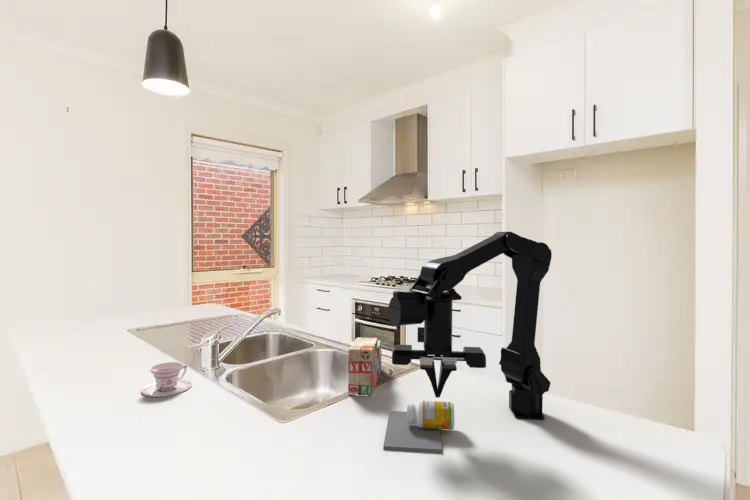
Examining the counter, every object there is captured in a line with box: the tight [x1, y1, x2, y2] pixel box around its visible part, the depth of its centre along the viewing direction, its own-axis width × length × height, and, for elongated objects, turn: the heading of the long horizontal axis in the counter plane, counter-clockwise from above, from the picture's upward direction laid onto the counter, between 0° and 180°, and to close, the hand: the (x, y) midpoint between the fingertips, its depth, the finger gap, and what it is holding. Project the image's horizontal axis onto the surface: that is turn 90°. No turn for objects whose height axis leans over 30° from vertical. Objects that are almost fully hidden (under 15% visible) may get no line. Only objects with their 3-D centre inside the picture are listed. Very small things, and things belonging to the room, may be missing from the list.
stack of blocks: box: [347, 337, 382, 397], centre depth 114 cm, size 21×6×12 cm, turn 173°
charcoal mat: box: [382, 410, 443, 454], centre depth 85 cm, size 11×16×1 cm
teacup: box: [140, 361, 193, 398], centre depth 108 cm, size 12×12×6 cm
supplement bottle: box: [406, 400, 455, 431], centre depth 85 cm, size 5×5×10 cm
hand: (437, 396), depth 84 cm, fingers closed
